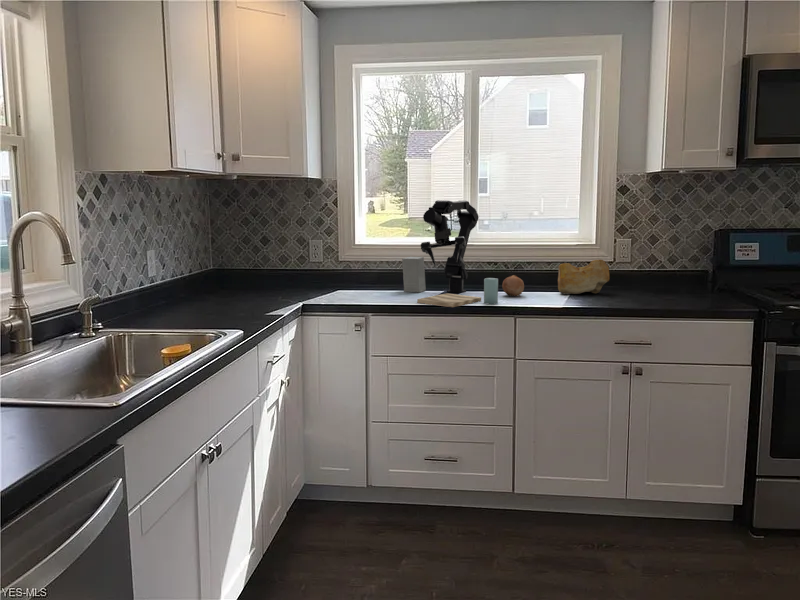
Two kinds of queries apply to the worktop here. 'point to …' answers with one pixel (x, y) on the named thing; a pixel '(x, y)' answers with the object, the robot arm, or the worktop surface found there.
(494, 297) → the ceramic jar
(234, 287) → the worktop surface
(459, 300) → the oak board
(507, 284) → the onion
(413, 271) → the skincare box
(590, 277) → the rough brown rock
